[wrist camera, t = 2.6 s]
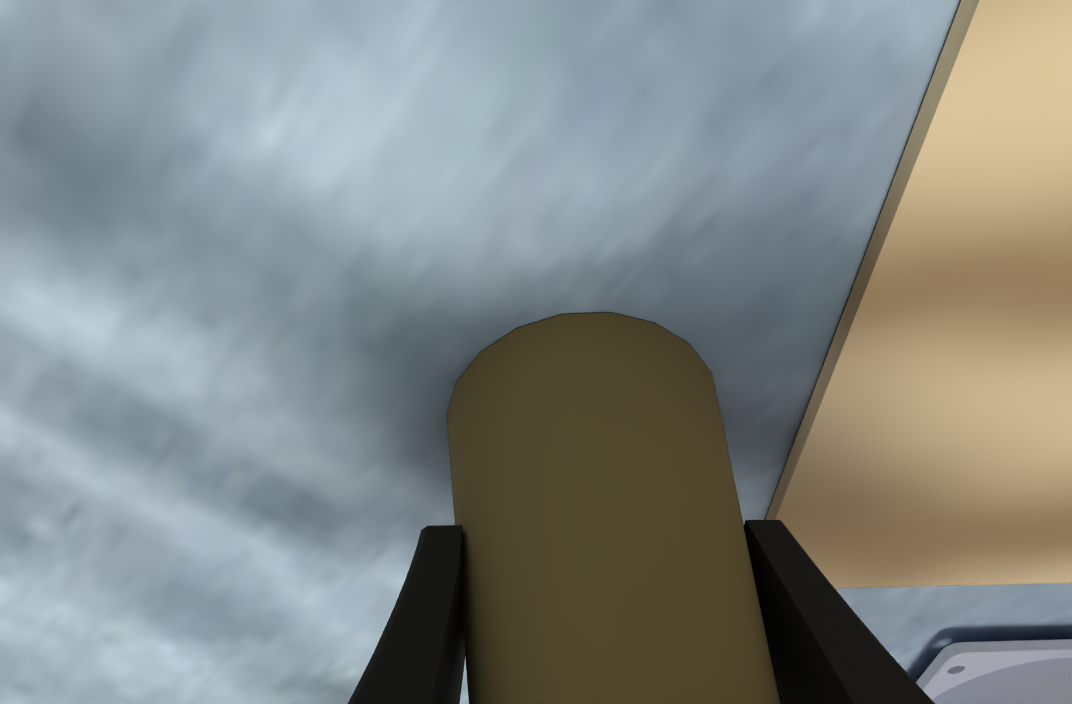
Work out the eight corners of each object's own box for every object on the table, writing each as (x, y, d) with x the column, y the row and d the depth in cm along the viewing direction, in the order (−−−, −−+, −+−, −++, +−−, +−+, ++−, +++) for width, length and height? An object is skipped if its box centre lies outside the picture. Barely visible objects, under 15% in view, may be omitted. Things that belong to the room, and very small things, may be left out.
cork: (577, 543, 17) (660, 1290, 8) (390, 432, 14) (193, 1375, 5) (772, 417, 14) (1214, 1305, 5) (588, 254, 11) (861, 1486, 3)
